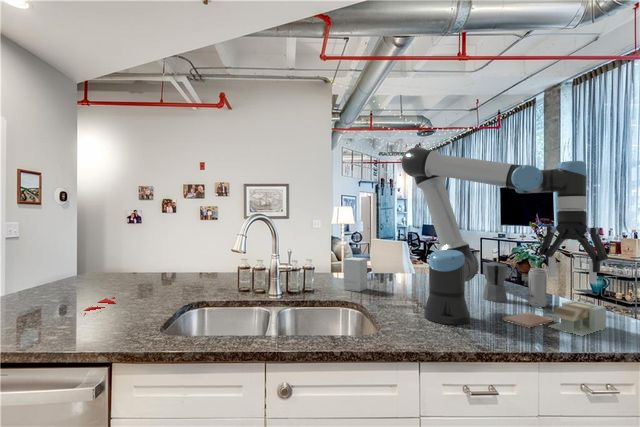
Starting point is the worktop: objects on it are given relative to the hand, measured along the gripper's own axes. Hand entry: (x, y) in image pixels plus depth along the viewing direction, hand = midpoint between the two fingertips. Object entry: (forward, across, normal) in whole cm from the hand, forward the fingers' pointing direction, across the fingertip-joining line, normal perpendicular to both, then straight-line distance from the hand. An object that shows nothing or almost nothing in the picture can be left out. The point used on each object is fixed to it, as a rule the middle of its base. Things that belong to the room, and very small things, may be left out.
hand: (571, 279), depth 108 cm
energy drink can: (+16, +21, -18) cm, 32 cm away
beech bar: (+12, 0, -2) cm, 12 cm away
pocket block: (+16, 0, -2) cm, 16 cm away
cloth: (+17, +100, +134) cm, 169 cm away
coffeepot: (+16, +35, -12) cm, 41 cm away
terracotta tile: (+16, +12, +4) cm, 20 cm away
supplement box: (+16, +80, +29) cm, 86 cm away
